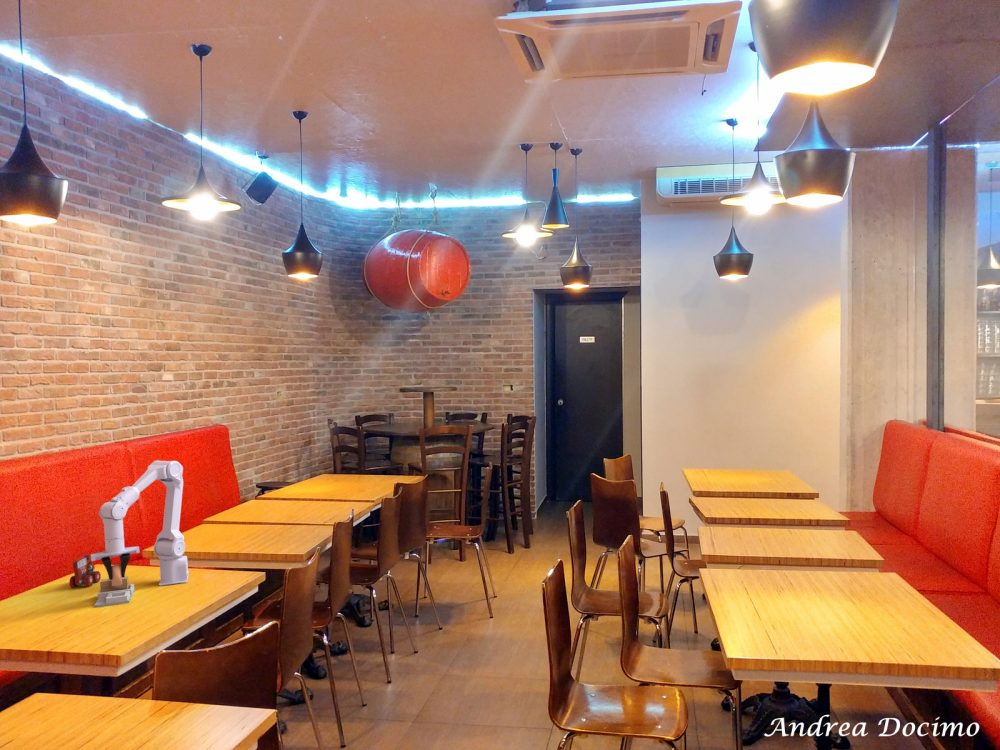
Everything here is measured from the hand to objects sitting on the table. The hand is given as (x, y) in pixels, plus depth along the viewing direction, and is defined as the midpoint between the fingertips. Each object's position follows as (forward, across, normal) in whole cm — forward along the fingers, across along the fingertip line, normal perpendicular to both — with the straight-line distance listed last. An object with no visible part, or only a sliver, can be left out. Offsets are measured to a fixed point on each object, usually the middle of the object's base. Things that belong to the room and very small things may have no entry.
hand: (116, 577), depth 262 cm
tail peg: (+2, 0, 0) cm, 2 cm away
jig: (+8, 0, -4) cm, 9 cm away
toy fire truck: (+8, +5, -32) cm, 33 cm away
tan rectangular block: (+7, 0, -7) cm, 10 cm away
